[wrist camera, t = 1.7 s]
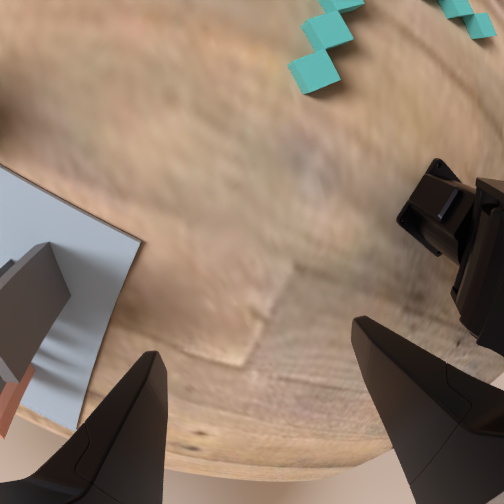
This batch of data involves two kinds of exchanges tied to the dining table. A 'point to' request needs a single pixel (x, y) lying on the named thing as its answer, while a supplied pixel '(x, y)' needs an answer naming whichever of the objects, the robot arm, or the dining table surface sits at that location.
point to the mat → (78, 282)
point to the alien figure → (337, 33)
